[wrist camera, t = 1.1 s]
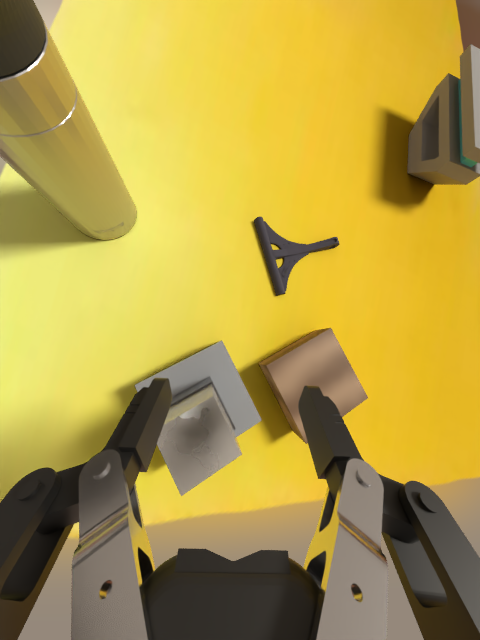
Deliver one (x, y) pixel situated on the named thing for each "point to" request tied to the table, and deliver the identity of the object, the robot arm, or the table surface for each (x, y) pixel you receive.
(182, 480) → the block
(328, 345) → the stand
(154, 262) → the table surface
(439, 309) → the table surface
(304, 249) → the bracket
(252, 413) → the stand
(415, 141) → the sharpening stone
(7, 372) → the table surface
